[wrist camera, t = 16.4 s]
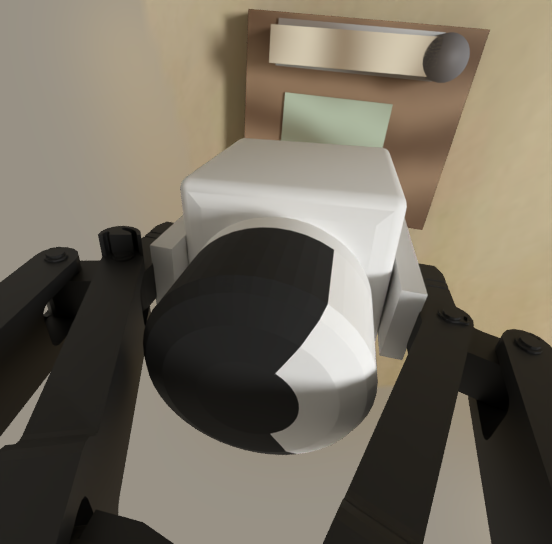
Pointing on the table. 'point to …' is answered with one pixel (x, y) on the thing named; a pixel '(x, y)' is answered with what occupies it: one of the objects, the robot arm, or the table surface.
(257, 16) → the brown wooden board
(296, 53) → the folding leg
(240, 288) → the medicine bottle
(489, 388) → the robot arm
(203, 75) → the table surface
